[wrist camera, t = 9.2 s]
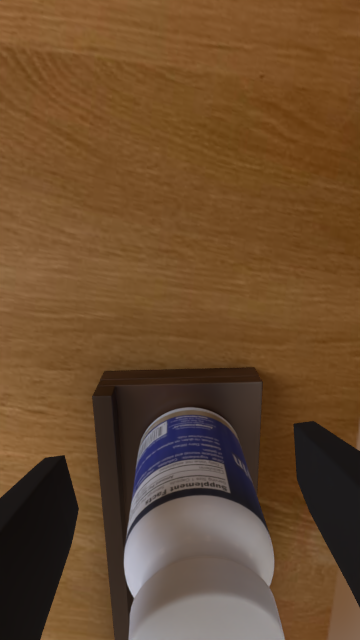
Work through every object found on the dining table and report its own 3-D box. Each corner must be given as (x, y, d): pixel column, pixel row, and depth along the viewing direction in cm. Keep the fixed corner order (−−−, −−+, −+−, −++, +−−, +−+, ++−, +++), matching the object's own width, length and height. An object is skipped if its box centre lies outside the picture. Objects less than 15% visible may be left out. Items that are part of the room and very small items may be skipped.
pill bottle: (242, 483, 20) (306, 714, 11) (147, 495, 20) (125, 735, 11) (234, 396, 19) (301, 573, 9) (132, 409, 19) (90, 598, 9)
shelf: (254, 367, 20) (269, 391, 17) (240, 686, 28) (249, 744, 25) (104, 370, 20) (91, 396, 17) (129, 691, 28) (124, 749, 24)
